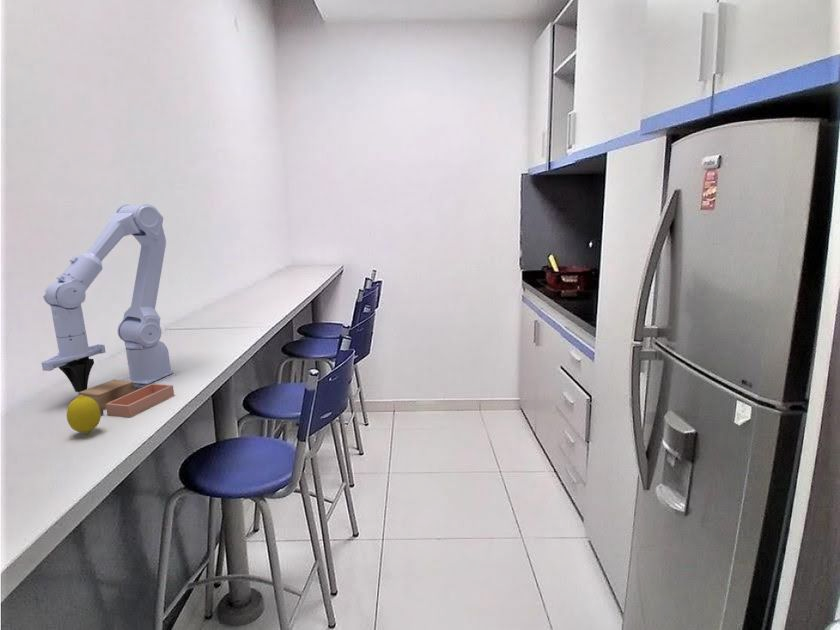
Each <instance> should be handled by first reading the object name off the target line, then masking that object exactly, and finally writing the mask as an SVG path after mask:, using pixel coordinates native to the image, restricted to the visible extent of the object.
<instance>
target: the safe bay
mask: <svg viewBox="0 0 840 630" xmlns="http://www.w3.org/2000/svg"><path fill="white" fill-rule="evenodd" d="M145 386H146V384H134V391H136V390H138V389H141V388H143V387H145ZM100 412H101V416H104V410H103V409H100Z"/></svg>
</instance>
